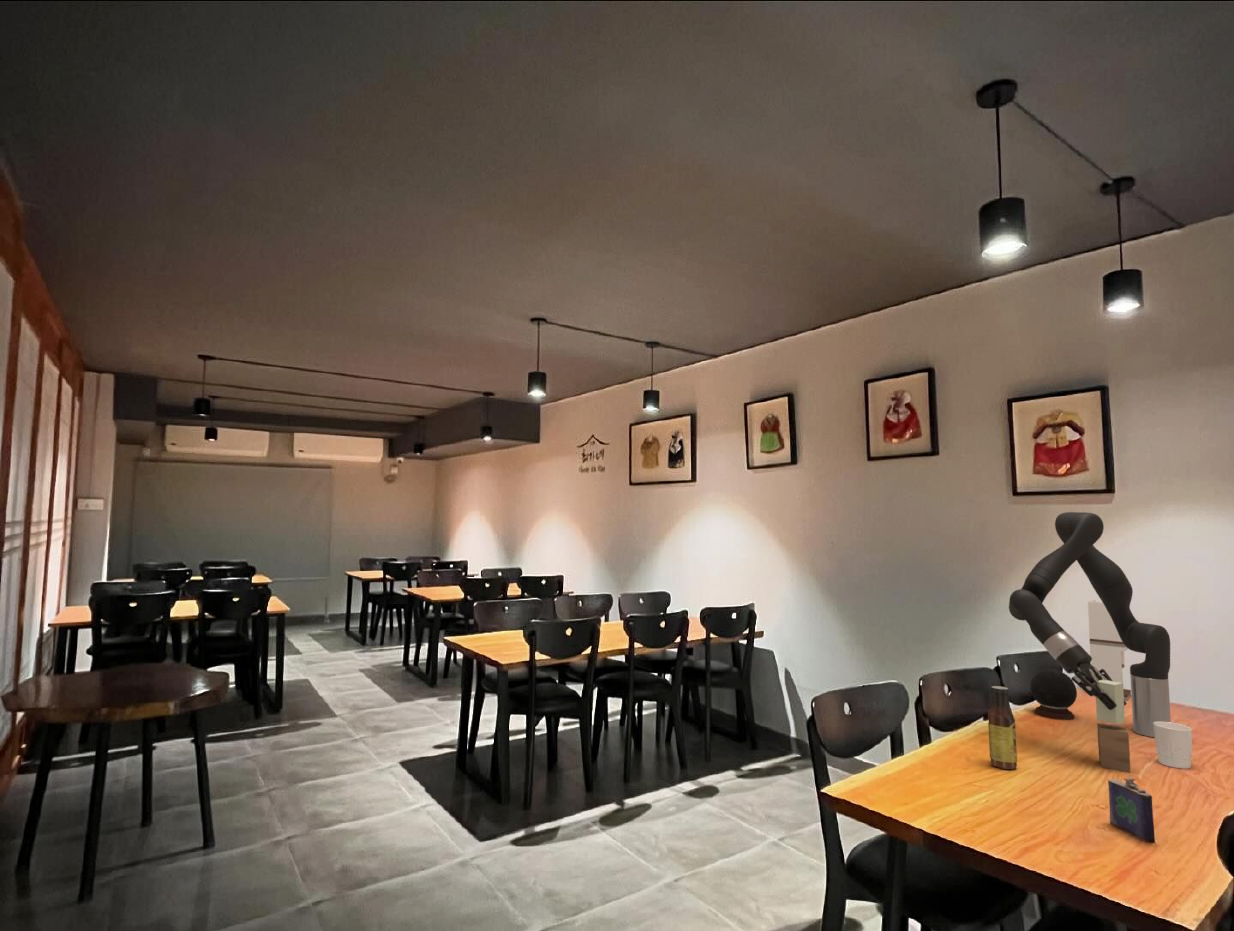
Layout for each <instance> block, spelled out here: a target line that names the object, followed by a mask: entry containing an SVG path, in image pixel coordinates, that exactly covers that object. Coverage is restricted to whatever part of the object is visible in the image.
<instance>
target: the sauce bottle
mask: <svg viewBox="0 0 1234 931" xmlns="http://www.w3.org/2000/svg"><path fill="white" fill-rule="evenodd" d="M1009 691H1010V690H1009V688H1008V687H1006V686H999V685H992V686H991V687H990V692H991V696H992V698H991V699H992V701H991V703H992V705H991V707H990V708H989V710H988V713H987V716H988V718H987V719H988V720H987V721H988V723H987V727H988V746H989V750H988V751H989V759H990V764H991V765H992V766H993V767H996V768H999V769H1003V770H1015V769H1017V767H1018V763H1017V762H1018V749H1017V746H1018V745H1017V732H1016V731H1017V730H1016V727H1017V726H1016V719H1015V717H1014V714H1013V711H1012V708H1011V706H1010V703H1009V694H1010V692H1009Z"/></svg>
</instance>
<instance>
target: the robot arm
mask: <svg viewBox="0 0 1234 931" xmlns="http://www.w3.org/2000/svg"><path fill="white" fill-rule="evenodd" d="M1104 526H1105V525H1104V521H1103V520H1102V518H1101V517H1100V516H1099V515H1098V514H1096V513H1092V512H1085V511H1084V512H1077V511H1076V512H1075V511H1074V512H1073V511H1069V512H1062V513H1060V514H1058V515H1057V517H1056V519H1055V522H1054V528H1055V531H1056V533H1057V536H1058V537H1059V539H1060V540H1061V542H1062V543H1063V544H1061V546H1060V547H1058V548H1057V549H1055V550H1053V551H1052V552H1051V553H1048V554H1047V555H1046V556H1044V557H1042V559H1040V560H1039V561H1038V562H1037V563H1036V564H1035V565H1034V567H1032V569H1031V571H1030V572H1029V573H1028V574H1027V576H1026V578H1025V579H1024V583H1023V585H1022V587H1021V589H1016V590H1014V591H1013V592H1012V593H1011V594H1010V597H1009V602H1008V611H1009V613H1010V615H1011V616H1012V617H1013V618H1014V619H1016V620H1018V621H1025V622H1026V623H1027V624H1028V625H1029V629H1030V632H1031V634H1032V635H1033V636H1034V637H1035V638H1036V639H1037V640H1038V641H1039V643H1041V644H1042V646H1043V647H1044V648H1045V650H1046V651H1047V652H1048V654H1049V655H1050V656H1051V657H1052V658H1053V659H1054V660H1055V661H1056V662H1057V663H1058V665H1059V666H1060V667H1061V668H1062V669H1063V670H1064V671H1065V673H1067V674H1070V675H1071V674H1074V676H1071V677H1070V678H1071V679H1072V681H1073V682H1074V684H1076V685H1077V686H1078V688H1080V689H1081V690H1082V691H1083V692H1085V693H1086V694H1087V695H1088V696H1090V697H1094V698H1095V699H1096V698H1099V700H1100V701H1101V702H1102V703H1103V704H1104V705H1105V706H1106V707H1107V708H1108V709H1109V710H1112V709H1114V708H1115V707H1117V705H1116V703H1115V702H1114V701H1113V700H1112V699H1111V698H1110V697H1109V696H1108V695H1107V694H1106V693H1105V692H1104V690H1103V689H1102V688H1101V687H1100V686H1099V680H1108V681H1113V680H1112V679H1111V678H1110V676H1109V675H1108V674H1107V673H1106V671H1105V670H1104V669H1101V670H1100V671H1099V670H1097V669H1096V668H1095V667H1093V666H1092V665H1091V661H1092V657H1091V656H1090V654H1089V653H1088V652H1087V651H1086V650H1085V648H1084V647H1082V646H1081V645H1080V644H1079V643H1078V642H1077V640H1075V638H1074V637H1072V635H1071V634H1069V633H1068V632H1067V631H1066V630H1065V629H1064V628H1063V627H1062V626H1061V625H1060V624H1059V623H1058V622H1057V621H1056V620H1055V619H1054V618H1053V617H1052V615H1051V614H1050V612H1049V611H1048V610H1047V609H1046V607H1045V605H1044V604H1043V603H1044V601H1045V599H1046V597H1047V596H1048V595H1049V593H1050V592H1051V591H1052V590H1053V589H1054V587H1055V586H1056V585H1057V583H1058V581H1059V580H1060V579H1061V577H1063V575H1064V574H1065V573H1066V571H1067V570H1068V569H1069V568H1070V567H1071V566H1072V565H1073V564H1075V562H1076V561H1077V564H1078V565H1079V567H1080V568H1081V569H1082V571H1083V572H1084V575H1085V576H1086V577H1087V579H1088V581H1089V582H1090V585H1091V587H1092V588H1093V589H1094V591H1095V593H1096V594H1097V596H1098V598H1099V600H1101V603H1103V604H1104V606H1105V607H1106V609H1107V611H1108V613H1109V615H1110V616H1111V618H1112V620H1113V623H1114V625H1115V627H1116V629H1117V632H1118V634H1119V636H1120V638H1121V640H1122V642H1123V643H1124V645H1125V646H1126V647H1127V648H1128V649H1127V650H1129V651H1132V652H1136V653H1141V654H1145V658H1144V661H1142V662H1140V663H1133V664H1130V666H1129V676H1130V677H1129V678H1130V690H1131V696H1130V698H1131V711H1132V712H1131V714H1132V718H1131V719H1132V731H1133V732H1134V733H1137V734H1138V735H1142V736H1146V737H1150V738H1155V734H1154V725H1153V723H1154V722H1171V721H1172V719H1171V704H1170V703H1171V700H1170V687H1169V686H1170V684H1169V673H1170V669H1171V639H1170V634H1169V632H1168V630H1167V628H1165V627H1164V626H1161V625H1158V624H1152V623H1145V622H1140V621H1139V620H1137V619H1136V618H1135V616H1134V614H1133V613H1132V610H1131V604H1132V603H1131V602H1132V599H1133V588H1132V584H1131V582H1130V581H1129V579H1128V577H1127V575H1126V573H1125V572H1124V571H1123V569H1122V568H1121V567H1120V566H1119V565H1118V564H1117V563H1115V561H1113V560H1112V559H1110V557H1108V556H1106V555H1105V554H1104V553H1102V552H1101V551H1100V550H1098V549H1097V548H1096V547H1095V543H1097V541H1099V539H1100V538H1101V537H1102V535H1103V533H1104ZM1096 687H1097V688H1096ZM1127 704H1128V703H1127V702H1126V700H1124V707H1125V706H1126V705H1127ZM1171 723H1172V722H1171Z"/></svg>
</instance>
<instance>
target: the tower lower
mask: <svg viewBox="0 0 1234 931" xmlns="http://www.w3.org/2000/svg"><path fill="white" fill-rule="evenodd" d="M1097 745H1098V746H1097V747H1098V762H1099V765H1100V767H1101V769H1103V770H1108V771H1109V770H1110V771H1116V772H1124V773H1128V774H1131V773H1132V772H1131V757H1130V755H1131V754H1130V752H1129V753H1128V752H1121V751H1115V750H1108V749H1101V748H1100V746H1099V743H1098V742H1097Z"/></svg>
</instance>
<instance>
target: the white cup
mask: <svg viewBox="0 0 1234 931" xmlns="http://www.w3.org/2000/svg"><path fill="white" fill-rule="evenodd" d="M1153 725H1154V734H1155V737H1154V741H1155V749H1156V752H1157V753H1156V754H1157V760H1158V763H1160V764H1161V765H1164V766H1167V767H1170V768H1175V769H1183V770H1184V769H1188V770H1189V769H1190V768H1191V769H1192V751H1193V750H1192V749H1193V746H1192V745H1193V743H1192V742H1193V741H1192V739H1193V738H1192V737H1193V736H1192V735H1193V733H1192V732H1193V731H1192V730H1193V729H1192V727H1190V726H1187V725H1184V724H1180V723H1178V722H1154V723H1153Z"/></svg>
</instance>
